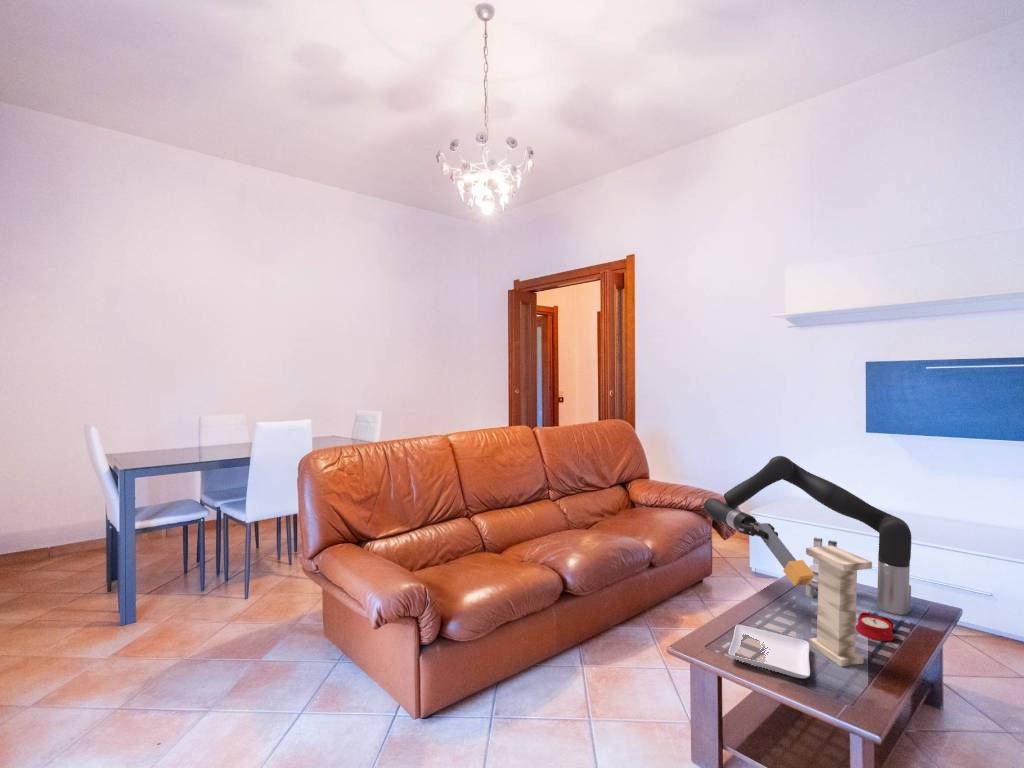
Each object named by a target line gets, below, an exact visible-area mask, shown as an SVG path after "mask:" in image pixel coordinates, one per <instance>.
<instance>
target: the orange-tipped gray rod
mask: <svg viewBox="0 0 1024 768" xmlns="http://www.w3.org/2000/svg"><path fill="white" fill-rule="evenodd" d="M760 523H761V522H760ZM757 528H758V529H760V530H762V531H764V532H766V533H768V539H764V538H762V537H760V538H761V540H762V541H763V542H764V543H765V546H767V548H768V549H769V551H770V552H771V553H772V555H774V557H775V559H776V560H777V561H778V562H779V564H780V565H781V566H782V568H783V571H782V572H783V573H784V574H785V576H786V577H787V578H788V579H789V581H790V582H791V584H792V585H793V586H794V587H795V586H796V587H798V586H799V587H800V586H806V585H808V584H809V583H810V581H811V580H812V578H813V577H814V573H813V572H812V571H811V570H810V568H809V567H810V566H808V564H807V563H806V562H805V560H804V559H800V560H797V559H796V558H795V557H794V555H793V554H792V553H791V552H790V551H789V549H788V548H787V547H786V545H785V544H784V543H783V542H782V540H781V539H780V538H779V535H778V536H777V535H776V534H775V533H774V531H775V530H774V531H773V530H772V529H771V527H770V526H769V525H768V524H767V522H763V523H761V524H758V526H757Z"/></svg>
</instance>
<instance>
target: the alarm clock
mask: <svg viewBox="0 0 1024 768" xmlns="http://www.w3.org/2000/svg"><path fill="white" fill-rule="evenodd" d="M893 629H894V623H893V621H892V620H891V619H890V618H888V617H885V616H883V617H879V616H876V615H872V614H871V613H869V612H865V611H864V612H860V613H859V615H858V619H857V623H856V630H855V631H857V632H858V633H859V634H860V635H862V636H864V637H866V638H869V639H871V640H872V641H880V642H881V641H883V642H891V641H893V640H894V639H895V635H894V633H893Z"/></svg>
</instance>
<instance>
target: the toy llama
mask: <svg viewBox="0 0 1024 768" xmlns="http://www.w3.org/2000/svg"><path fill="white" fill-rule="evenodd" d="M822 546H823V538H821V537H816V536H815V537H814V538H813V547H822ZM827 546H835V547H837V548H838V541H836V540H828V541H827ZM808 567H809V568H810V570H811V571H812V572H813V573H814V577H813V578H812V580H811V581H810V583H809V584H808V585H805V595H806V596H805V597H808V596H810V597H809V598H811V597H813V596H814V595H815V594H816V593H815V592H817V591H818V573H819V560H818V559H815V558H813V557H812V563H811V565H809V566H808ZM815 590H816V591H815ZM814 597H815V596H814ZM814 597H813V598H814Z"/></svg>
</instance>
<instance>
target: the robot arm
mask: <svg viewBox="0 0 1024 768" xmlns="http://www.w3.org/2000/svg"><path fill="white" fill-rule="evenodd" d="M781 480H783V481H785V482H786V483H787V482H788V483H789V484H792V485H793V486H796V487H797V488H799V489H801V490H802V491H804V492H805V493H806V494H807V495H808V496H810V497H811V498H813V500H815V501H816V502H818V503H820V504H822V505H823V506H825V507H827V508H828V509H830V510H832V511H834V512H836V513H837V514H840V515H842V516H845V517H847V518H851V519H853V520H854V519H855V520H856V521H859V522H862V523H863V524H865V525H867V526H868V527H870V528H871V529H873V530H874V531H876V532H877V533H878V534H879V535H878V554H877V557H878V558H877V586H876V587H877V590H876V593H877V594H876V595H877V596H876V606H877V608H878V609H880V610H881V611H884V612H887V613H889V614H894V615H901V616H902V615H907V614H908V613H909V612H911V604H912V603H911V601H912V598H911V597H912V585H911V584H910V568H911V567H910V566H911V565H910V564H911V560H912V559H911V558H912V557H911V555H912V532H911V530H910V527H909V525H908V523H907V522H905V521H904V520H903V519H901V518H899V517H898V516H895V515H893V514H891V513H888V512H886V511H884V510H882V509H879V508H877V507H875V506H873V505H871V504H869V503H868V502H866V501H865V500H863V499H862V498H860V497H859V496H856V495H855V494H854V493H852V492H850V491H848V490H847V489H844V488H843V487H841V486H839V485H837V484H836V483H834V482H832V481H829V480H827V479H825V478H823V477H821V476H818V475H816V474H814V473H811V472H809V471H807V470H805V469H804V468H803V467H802V466H799V465H798V464H797V463H795V462H794V461H792V459H790V458H788V457H786V456H783V455H776V456H773V457H772V458H771V459H769V461H768V463H767V464H765V466H763V468H761V469H760V470H759V471H757V472H756V473H755V474H753V475H751V477H749V478H747V479H745V480H743V481H742V482H740V483H739V484H736V485H735V486H734V487H732V488H730V489H729V490H728V491H726V492H725V493H724V494H723V499H724V501H725V503H724V502H722V501H720V499H717V498H714V497H711V498H707V499H706V500H705V501H704V503H703V511H705V513H707V515H709V516H710V517H711V519H713V520H714V521H715V522H718V523H721V522H722V523H723V524H725V525H726V526H729V527H730V528H732V529H734V530H735V531H738V533H741V534H744V535H748V536H751V537H755V536H756V537H759V538H761V537H762V538H764V539H768V533H766V532H764V531H762V530H760V529H758V528H757V526H758V524H761V522H759V521H757V520H756V518H755V516H754V515H751V514H748V513H746V512H743V511H741V510H738V509H737V508H738V507H739V506H741V505H742V504H744V503H746V502H747V501H748V500H750V499H751V498H753V497H755V495H757V494H758V493H760V492H761V491H762V490H764V489H765V488H767V487H769V486H770V485H772V484H775V483H776V482H779V481H781ZM766 523H767V522H766ZM767 524H768V525H769V526H770V527H771V529H772V530H773V531H774V533H775V534H776V535H777V536H778V537H779V532H777V531H776V530H775V527H774V526H773V525H772V524H771V523H770V522H769V523H767ZM762 538H761V539H762Z"/></svg>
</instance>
